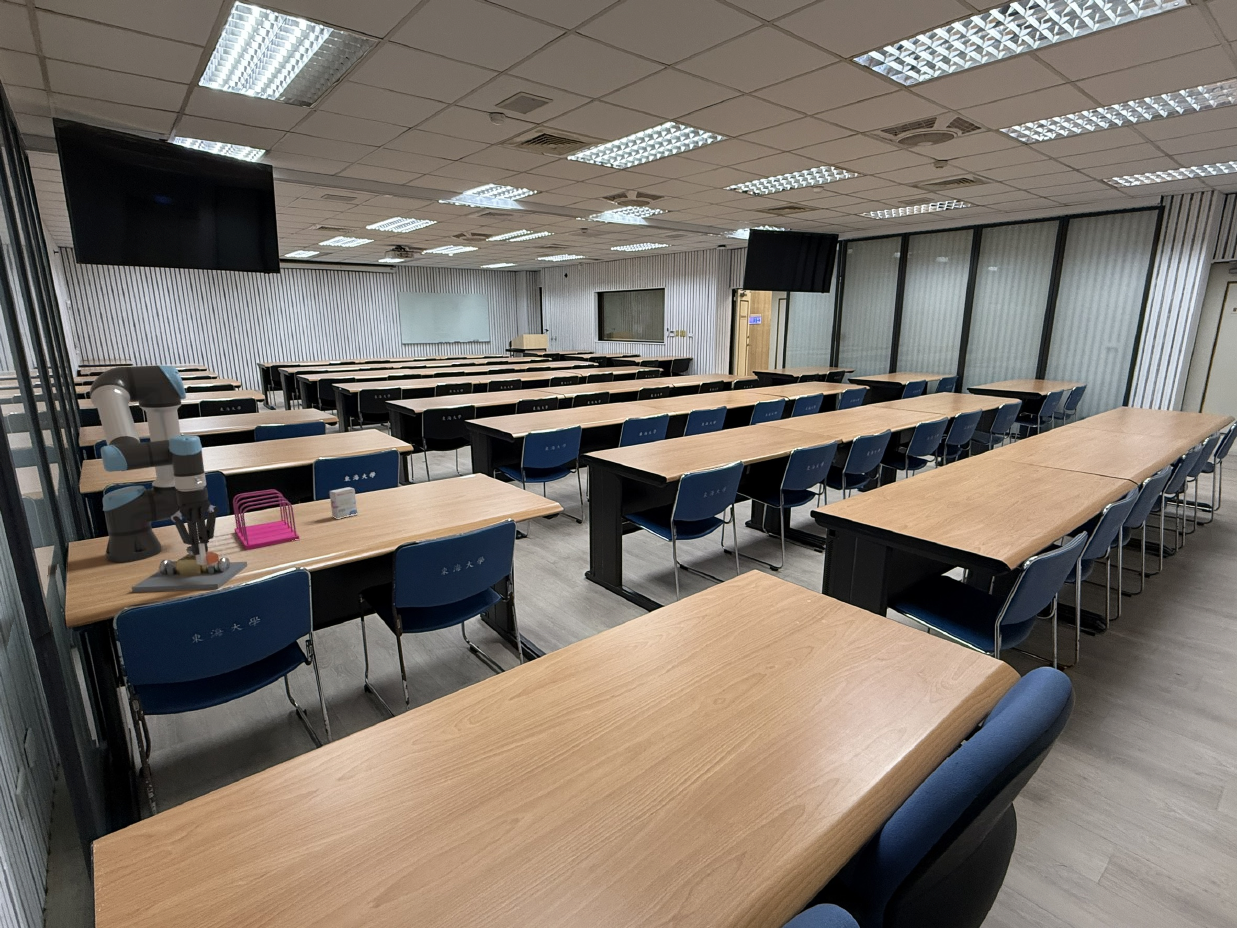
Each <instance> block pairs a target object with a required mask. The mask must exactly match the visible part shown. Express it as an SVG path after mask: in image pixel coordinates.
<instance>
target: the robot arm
mask: <svg viewBox="0 0 1237 928" xmlns="http://www.w3.org/2000/svg"><path fill="white" fill-rule="evenodd" d="M184 385H185V384H184V383H183V379H182V377H181V374H180V372H179V371H178V369H177V367H175V366H173V365H161V364H159V365H158V364H156V365H155V364H154V365H153V364H152V365H139V366H117V367H112V368H110V369H107V370H105V371H104V372H102V373H101V374H100V375H99V376H97V377H96V378H95V380H94V381H93V382H92V384H91V385H90V386H91V387H90V389H89V397H90V401H91V403H92V405H93V406H94V407H96V408H97V411H98V415H99V418H100V421H101V422H100V423H101V425H102V430H103V433H104V437H105V441H106V445H104V446H102V447H101V448H100V454H101V459H102V460H101V461H102V464H103V468H104V470H105V471H106V472H109V473H111V472H126V471H132V470H140V469H148V468H154V470H155V476H156V478H155V479H154V480H153V481H152V483H151V487H152V488H147V489H146V488H145V486H144V485H131V486H126V487H123V488H118V489H115V490H113V491H110V492H108V493H106V494H105V495H104V496H103V497H102V506H103V507H102V511H104V515H105V516H104V517H105V523H106V528H107V533H108V541H107V545H106V548H105V549H106V551H105V557H106V558H105V559H106V561H108V562H110V563H127V562H134V561H139V560H143V559H147V558H150V557H153V556H155V555H157V554H159V553H160V552H162V550H163V549H162V544H161V542H160V541H159V539H158V537H157V535H156V534H155V533H154V531H153V529H152V523H155V522H161V521H169V520H171V521H172V522H173V523H174V526H175V528H176V529H177V532H178V534H179V536H180V538H181V541H182V543H183V544H185V545H188V546H190V545H191V546H192V553H193V555H196V559H197V564H199V565H205V564H207V560H206V552H209V548H208V543H209V542H210V540H212V539H214V536H215V528H216V522H217V521H216V520H217V514H218V512H219V510H220V507H219V506H215V505H212V504H211V502H210V501H209V493H208V488H207V487H206V486H207V480H206V473H205V465H204V458H203V451H202V450H203V446H202V443H201V440H200V439H201V438H200V437H199V436H198V435H192V434H190V435H189V434H186V435H185V434H184V435H183V434H182V435H181V427H180V421H179V420H180V419H179V415H178V409H179V408H180V407H181V406H182V400H184V399H186V398H187V394H186V390H185V386H184ZM130 403H138V407H139V408H141V409H142V410H144V411H145V415H146V420H147V426H148V433H149V439H150V441H146V442H141V440H140V437H139V434H138V431H137V428H136V424H135V422H134V418H133V415H132V412H131V409H130V406H129V404H130ZM206 515H207V517H206ZM183 518H185V522H186V523H187V527H186V525H185V523H184V521H183Z"/></svg>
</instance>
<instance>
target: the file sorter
mask: <svg viewBox="0 0 1237 928" xmlns="http://www.w3.org/2000/svg"><path fill="white" fill-rule="evenodd" d="M268 494H271V495H268ZM259 495H264V496H260V497H256V496H259ZM253 496H255V497H254V498H249V497H253ZM247 497H248V498H249V499H244V500H241V501H239V500H240V499H241V498H247ZM271 497H273V498H272V499H267V498H271ZM274 497H278V498H274ZM261 499H266V500H262V501H261ZM256 500H260V501H256ZM238 501H239V502H238ZM249 501H250V502H249ZM252 501H255V502H252ZM274 501H277V502H274ZM246 502H248V503H246ZM268 502H270V503H268ZM242 503H246V504H243V505H242V506H241V507H240V509H239V506H240V505H241V504H242ZM262 503H265V504H262ZM256 504H258V505H256ZM259 504H261V505H259ZM278 504H279V509H280V519H281V520H277V521H270V522H265V523H259V524H253V525H246V521H245V513H246V512H247V511H249V510H252V509H256V508H257V509H258V508H263V507H268V506H272V505H273V506H274V505H278ZM232 505H233V513H234V518H235V519H234V520H235V521H234V522H235V526H236V527H235V528H234V533H235V535H236V536H237V538H238V539H239V541H240V543H241V544H242V546H243V548H244V549H245V550H252V549H253V550H254V549H258V548H263V547H268V546H274V545H279V544H282V543H283V542H285V543H289V542H288V541H290V542H293V541H292V540H295V539H299V540H300V534H298V533H297V530H296V522H295V515H294V509H293V505H292V504H291V502H289V501H288V499H286V498H285V497H284V496H283V494H282V493H281V492H280V491H278V490H276V489H267V490H259V491H252V492H244V493H240V494H237V495H235V496H234V497H233V499H232ZM250 505H254V506H250ZM255 505H256V506H255ZM246 506H250V507H247V508H245V509H244V510H243V508H244V507H246ZM295 541H296V540H295ZM278 543H279V544H278ZM283 544H284V543H283Z"/></svg>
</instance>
